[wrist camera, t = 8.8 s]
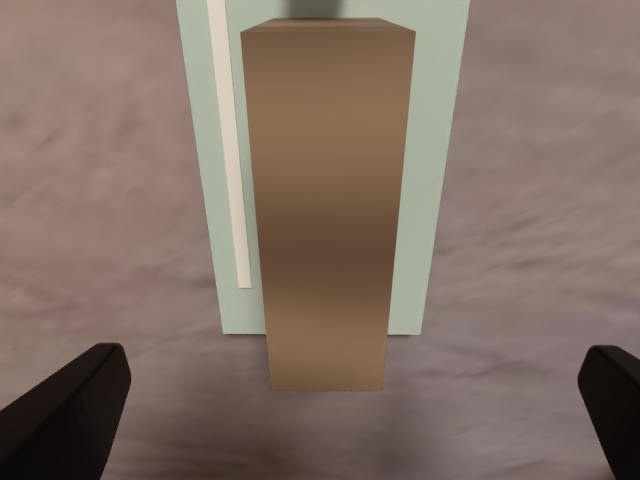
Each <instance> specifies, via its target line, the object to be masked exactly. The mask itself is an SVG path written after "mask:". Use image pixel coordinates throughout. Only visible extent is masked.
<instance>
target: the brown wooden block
mask: <svg viewBox="0 0 640 480" xmlns="http://www.w3.org/2000/svg"><path fill="white" fill-rule="evenodd" d="M240 37H241V49H242V61H243V72H244V84H245V95H246V107H247V119H248V130H249V142H250V154H251V165H252V177H253V188H254V200H255V212H256V223H257V235H258V247H259V258H260V270H261V281H262V293H263V305H264V316H265V328H266V340H267V351H268V363H269V374H270V386H271V391H382V388H383V378H384V367H385V357H386V346H387V335H388V325H389V314H390V303H391V293H392V282H393V271H394V261H395V250H396V239H397V229H398V218H399V208H400V197H401V186H402V176H403V165H404V154H405V144H406V133H407V122H408V112H409V101H410V90H411V80H412V69H413V59H414V48H415V37H416V31H414V30H411V29H408V28H406V27H403V26H400V25H397V24H394V23H392V22H389V21H386V20H383V19H381V18H378V17H373V18H273V19H270V20H268V21H265V22H263V23H261V24H258V25H256V26H254V27H251V28H249V29H246V30H244V31H242V32H240Z"/></svg>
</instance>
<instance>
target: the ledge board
mask: <svg viewBox="0 0 640 480" xmlns="http://www.w3.org/2000/svg"><path fill="white" fill-rule="evenodd" d="M469 4H470V0H176V5H177V12H178V19H179V26H180V33H181V40H182V47H183V54H184V61H185V68H186V75H187V82H188V89H189V96H190V103H191V110H192V117H193V124H194V131H195V138H196V145H197V152H198V159H199V166H200V173H201V180H202V187H203V194H204V201H205V208H206V215H207V222H208V229H209V237H210V244H211V251H212V258H213V265H214V272H215V279H216V286H217V293H218V300H219V307H220V314H221V321H222V328H223V334H266V328H265V316H264V305H263V293H262V281H261V270H260V258H259V247H258V235H257V223H256V212H255V200H254V188H253V177H252V165H251V154H250V142H249V130H248V119H247V107H246V95H245V84H244V72H243V61H242V49H241V37H240V32H242V31H244V30H246V29H249V28H251V27H254V26H256V25H258V24H261V23H263V22H265V21H268V20H270V19H273V18H373V17H378V18H381V19H383V20H386V21H389V22H392V23H394V24H397V25H400V26H403V27H406V28H408V29H411V30H414V31H416V37H415V48H414V59H413V69H412V80H411V90H410V101H409V112H408V122H407V133H406V144H405V154H404V165H403V176H402V186H401V197H400V208H399V218H398V229H397V239H396V250H395V261H394V271H393V282H392V293H391V303H390V314H389V325H388V334H400V335H420V333H421V326H422V319H423V313H424V306H425V299H426V293H427V286H428V279H429V272H430V266H431V259H432V252H433V246H434V239H435V232H436V225H437V219H438V212H439V205H440V199H441V192H442V185H443V178H444V172H445V165H446V158H447V152H448V145H449V138H450V132H451V125H452V118H453V111H454V105H455V98H456V91H457V85H458V78H459V71H460V64H461V58H462V51H463V44H464V38H465V31H466V24H467V18H468V11H469Z"/></svg>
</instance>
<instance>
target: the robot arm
mask: <svg viewBox="0 0 640 480" xmlns="http://www.w3.org/2000/svg"><path fill="white" fill-rule="evenodd" d="M130 384H131V372H130V368H129V365H128V362H127V358H126V355H125V351H124V348H123V346H122V345H121V344H120V343H98V344H96V345H94V346H93V347H91V348H90V349H88V350H87V351H85V352H84V353H83V354H81V355H80V356H78V357H77V358H75V359H74V360H73V361H71V362H70V363H68V364H67V365H65V366H64V367H62V368H61V369H60V370H58V371H57V372H55V373H54V374H52V375H51V376H49V377H48V378H47V379H45V380H44V381H42V382H41V383H39V384H38V385H37V386H35V387H34V388H32V389H31V390H29V391H28V392H26V393H25V394H24V395H22V396H21V397H19V398H18V399H16V400H15V401H13V402H12V403H11V404H9V405H8V406H6V407H5V408H3V409H2V410H1V411H0V480H100V478H101V476H102V473H103V471H104V468H105V466H106V463H107V460H108V457H109V454H110V451H111V448H112V444H113V441H114V438H115V435H116V431H117V428H118V425H119V421H120V418H121V415H122V411H123V408H124V405H125V401H126V398H127V395H128V391H129V388H130ZM578 387H579V390H580V393H581V395H582V398H583V400H584V403H585V406H586V408H587V411H588V413H589V416H590V418H591V421H592V423H593V426H594V429H595V431H596V434H597V436H598V439H599V441H600V444H601V446H602V449H603V451H604V454H605V456H606V459H607V461H608V463H609V466H610V468H611V470H612V472H613V474H614V476H615V478H616V480H640V360H639V359H638V358H636V357H634V356H633V355H631V354H629V353H628V352H626V351H624V350H623V349H621V348H619V347H617V346H614V345H594V346H591V347H590V348H589V350H588V351H587V354H586V356H585V359H584V361H583V364H582V366H581V369H580V371H579V374H578Z"/></svg>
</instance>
